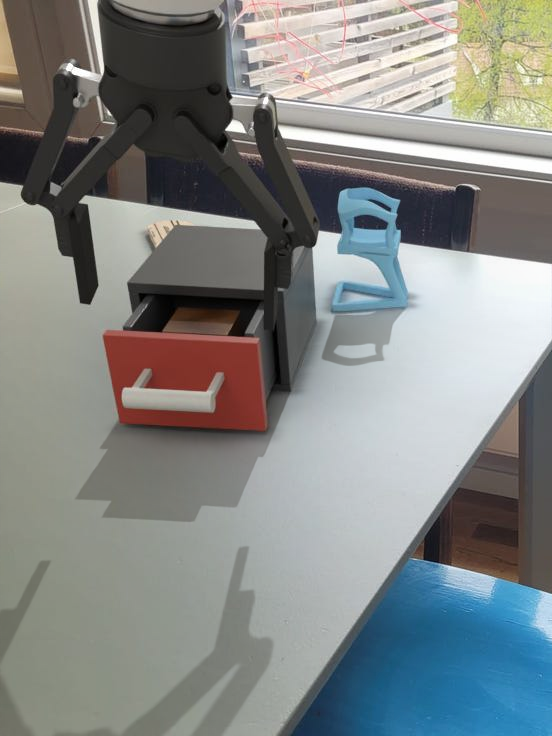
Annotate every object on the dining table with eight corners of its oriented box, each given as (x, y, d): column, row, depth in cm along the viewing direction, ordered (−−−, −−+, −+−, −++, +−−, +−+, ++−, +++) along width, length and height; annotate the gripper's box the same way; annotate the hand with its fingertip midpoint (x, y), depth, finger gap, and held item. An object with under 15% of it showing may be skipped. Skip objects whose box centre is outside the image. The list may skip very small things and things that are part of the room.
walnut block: (161, 331, 85) (178, 307, 89) (171, 392, 88) (186, 365, 93) (227, 334, 85) (240, 310, 89) (234, 395, 89) (246, 369, 93)
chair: (406, 316, 110) (406, 203, 103) (331, 313, 110) (325, 199, 102) (409, 291, 116) (410, 182, 109) (338, 288, 116) (333, 178, 108)
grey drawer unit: (291, 394, 94) (283, 291, 88) (144, 386, 94) (126, 282, 88) (316, 326, 107) (311, 232, 101) (188, 319, 107) (175, 224, 101)
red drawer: (252, 464, 82) (242, 373, 77) (98, 456, 81) (78, 364, 76) (294, 357, 98) (288, 277, 93) (166, 350, 98) (154, 269, 93)
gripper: (-78, -18, 56) (-4, 310, 72) (362, 62, 60) (339, 359, 76) (-36, -61, 61) (25, 256, 77) (370, 16, 64) (347, 304, 81)
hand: (181, 308), depth 77 cm, fingers open, 13 cm apart
